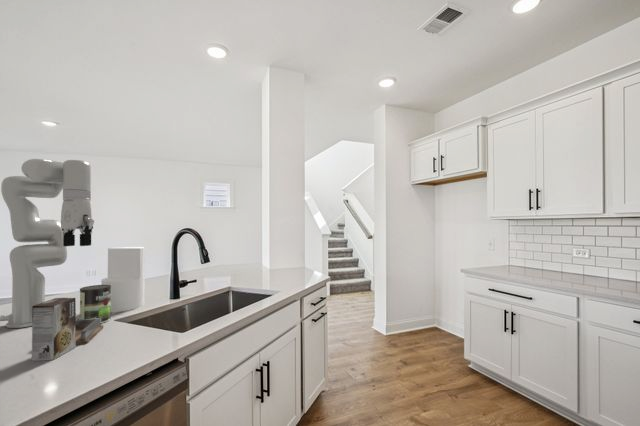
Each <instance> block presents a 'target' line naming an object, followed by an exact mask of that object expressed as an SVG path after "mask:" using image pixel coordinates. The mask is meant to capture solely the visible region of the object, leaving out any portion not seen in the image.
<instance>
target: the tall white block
mask: <svg viewBox="0 0 640 426" xmlns="http://www.w3.org/2000/svg"><path fill="white" fill-rule="evenodd" d="M145 249H146V248H145V247H144V246H126V247H125V246H124V247H121V246H120V247H119V246H118V247H108V248H107V277H105V278H103V279H101V284H100V285H111V306H110V313H120V312H121V311H122V312H128V311H127V310H129V311H132V309H133V310H136V308H137V309H139V307H140V308H142V307H144V306H145V259H146V257H145V252H146V251H145ZM143 305H144V306H143ZM141 306H142V307H141Z"/></svg>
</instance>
